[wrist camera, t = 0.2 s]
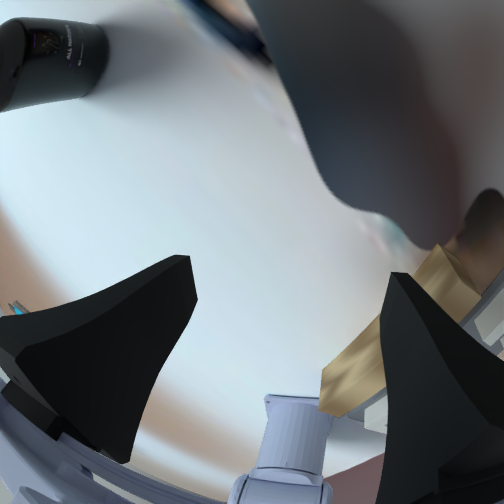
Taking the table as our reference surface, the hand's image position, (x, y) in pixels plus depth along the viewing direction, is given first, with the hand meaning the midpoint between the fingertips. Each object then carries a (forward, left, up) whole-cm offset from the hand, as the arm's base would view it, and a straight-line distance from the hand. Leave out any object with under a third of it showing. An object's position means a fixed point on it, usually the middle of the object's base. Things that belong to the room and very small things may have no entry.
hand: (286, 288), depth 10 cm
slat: (-11, -6, -10) cm, 16 cm away
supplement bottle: (+14, +16, -10) cm, 24 cm away
